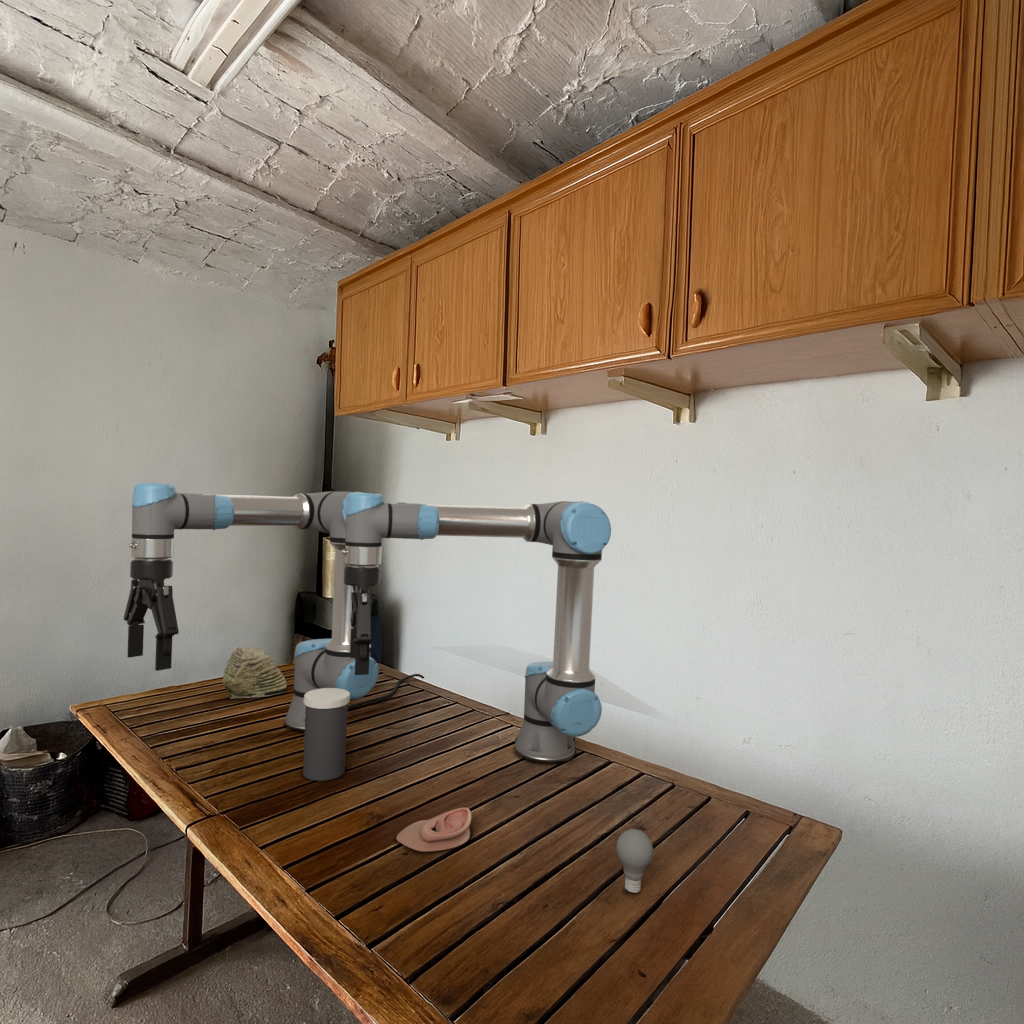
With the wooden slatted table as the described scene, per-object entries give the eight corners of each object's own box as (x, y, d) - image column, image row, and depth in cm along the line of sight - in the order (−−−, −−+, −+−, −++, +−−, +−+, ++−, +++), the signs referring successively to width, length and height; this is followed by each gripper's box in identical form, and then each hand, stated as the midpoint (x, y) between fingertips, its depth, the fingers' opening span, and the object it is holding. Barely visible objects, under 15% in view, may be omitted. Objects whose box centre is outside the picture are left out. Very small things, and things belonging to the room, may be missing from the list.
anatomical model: (390, 825, 115) (412, 796, 127) (389, 846, 116) (411, 816, 127) (460, 836, 113) (476, 806, 124) (459, 858, 113) (476, 826, 124)
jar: (329, 783, 140) (332, 705, 140) (294, 776, 143) (297, 699, 143) (352, 767, 149) (355, 693, 148) (319, 760, 152) (322, 688, 151)
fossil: (218, 695, 195) (220, 647, 195) (278, 685, 208) (279, 640, 207) (228, 703, 189) (230, 653, 188) (289, 692, 201) (290, 645, 201)
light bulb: (610, 879, 108) (613, 822, 108) (644, 879, 109) (647, 822, 109) (619, 902, 102) (622, 840, 102) (655, 901, 103) (658, 840, 103)
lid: (332, 711, 139) (333, 704, 139) (294, 704, 142) (294, 697, 142) (358, 698, 149) (358, 691, 148) (321, 692, 152) (321, 685, 152)
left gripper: (108, 554, 134) (104, 654, 134) (159, 565, 118) (155, 678, 119) (146, 552, 140) (143, 648, 140) (199, 563, 124) (195, 671, 124)
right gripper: (340, 559, 145) (337, 651, 145) (348, 573, 121) (344, 683, 121) (374, 559, 147) (370, 650, 147) (388, 573, 123) (383, 681, 124)
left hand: (148, 662), depth 129 cm, fingers open, 13 cm apart
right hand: (358, 665), depth 134 cm, fingers open, 13 cm apart
